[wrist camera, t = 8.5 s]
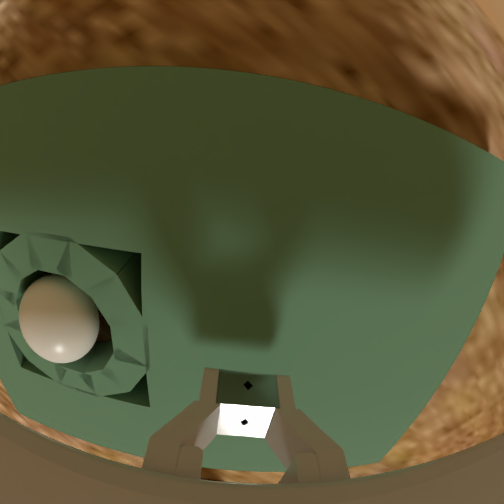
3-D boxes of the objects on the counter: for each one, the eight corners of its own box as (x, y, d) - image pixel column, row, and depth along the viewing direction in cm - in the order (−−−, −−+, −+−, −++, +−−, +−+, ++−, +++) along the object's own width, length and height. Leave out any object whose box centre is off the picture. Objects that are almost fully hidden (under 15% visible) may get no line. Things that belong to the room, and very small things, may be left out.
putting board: (489, 165, 11) (523, 174, 8) (370, 437, 18) (378, 462, 15) (-13, 99, 9) (-45, 99, 6) (32, 391, 16) (18, 412, 13)
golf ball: (111, 287, 11) (20, 316, 8) (119, 361, 12) (47, 393, 9) (75, 253, 13) (4, 271, 10) (83, 320, 14) (22, 341, 11)
